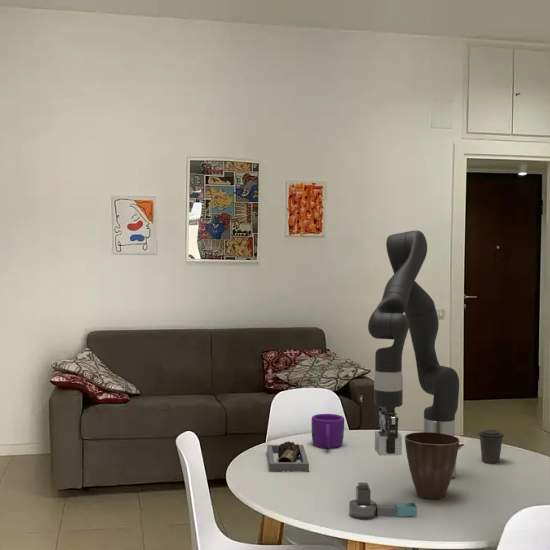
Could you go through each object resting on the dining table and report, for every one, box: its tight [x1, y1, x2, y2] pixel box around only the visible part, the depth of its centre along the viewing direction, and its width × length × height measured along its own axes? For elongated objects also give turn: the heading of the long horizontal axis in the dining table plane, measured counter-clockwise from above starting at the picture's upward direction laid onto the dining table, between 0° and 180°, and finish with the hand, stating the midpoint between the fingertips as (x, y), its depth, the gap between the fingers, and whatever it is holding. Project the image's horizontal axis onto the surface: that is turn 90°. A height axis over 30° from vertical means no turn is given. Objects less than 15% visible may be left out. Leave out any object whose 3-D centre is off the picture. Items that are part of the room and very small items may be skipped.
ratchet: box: [348, 482, 418, 521], centre depth 196 cm, size 17×7×8 cm, turn 92°
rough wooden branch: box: [277, 441, 300, 462], centre depth 244 cm, size 18×7×6 cm, turn 169°
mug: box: [311, 413, 345, 449], centre depth 263 cm, size 17×11×10 cm, turn 176°
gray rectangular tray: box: [266, 444, 310, 473], centre depth 245 cm, size 12×23×2 cm, turn 2°
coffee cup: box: [478, 429, 505, 465], centre depth 247 cm, size 8×8×10 cm
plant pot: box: [404, 431, 460, 500], centre depth 212 cm, size 15×15×16 cm
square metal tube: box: [374, 430, 403, 456], centre depth 204 cm, size 6×6×5 cm
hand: (388, 449), depth 204 cm, fingers closed on square metal tube, 6 cm apart
